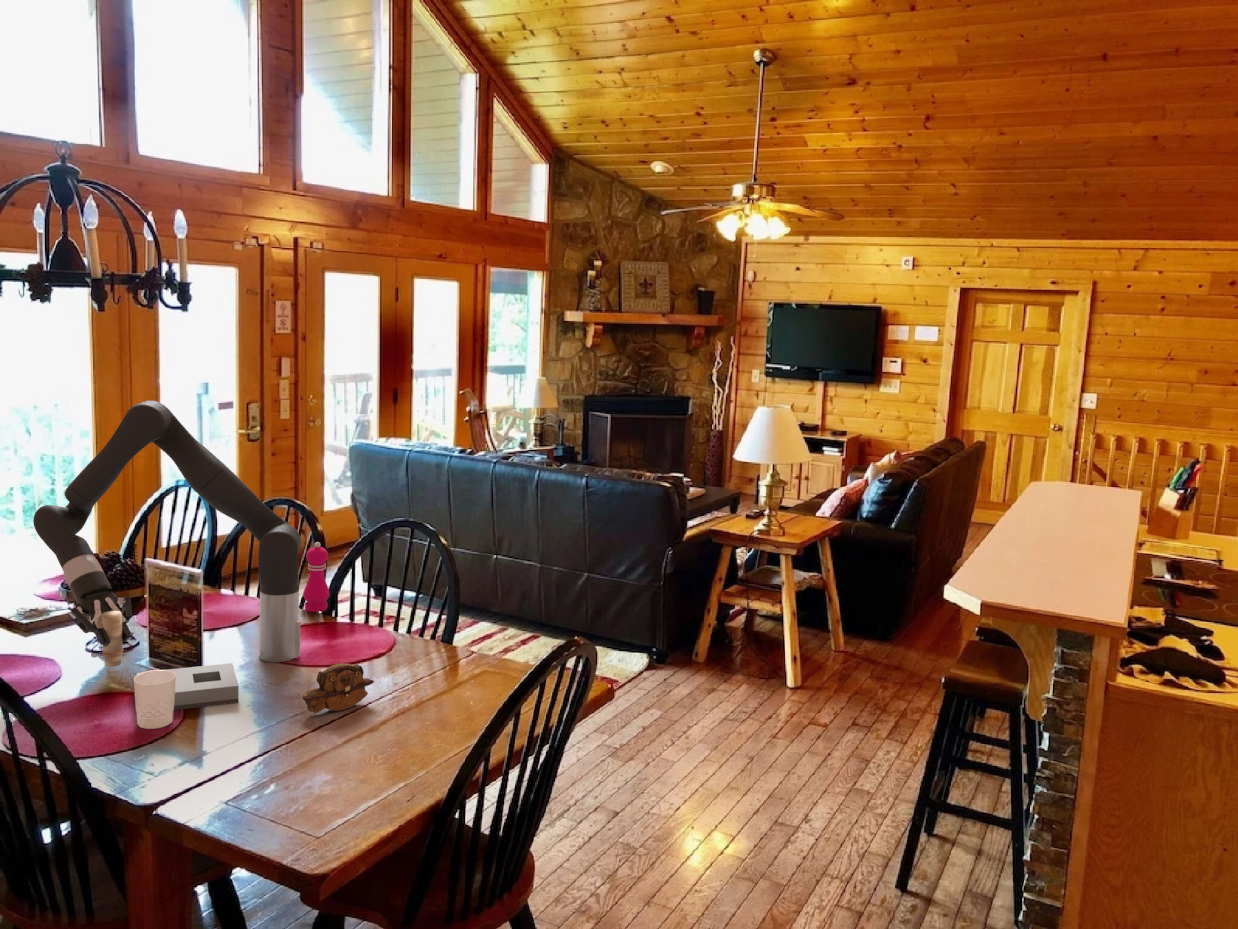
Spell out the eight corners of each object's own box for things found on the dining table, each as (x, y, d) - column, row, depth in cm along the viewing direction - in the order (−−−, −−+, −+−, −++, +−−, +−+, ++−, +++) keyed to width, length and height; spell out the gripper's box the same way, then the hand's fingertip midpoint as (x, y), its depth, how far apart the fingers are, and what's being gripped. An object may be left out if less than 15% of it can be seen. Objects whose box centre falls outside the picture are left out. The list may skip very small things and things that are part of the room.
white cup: (184, 719, 203) (184, 674, 201) (155, 733, 196) (155, 687, 194) (155, 711, 205) (154, 667, 204) (125, 725, 198) (124, 679, 196)
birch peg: (123, 659, 221) (122, 610, 219) (123, 666, 217) (122, 615, 215) (102, 662, 219) (101, 611, 217) (102, 668, 215) (100, 617, 213)
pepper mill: (333, 606, 282) (334, 540, 278) (323, 613, 274) (324, 546, 271) (309, 604, 282) (310, 538, 279) (298, 611, 275) (299, 543, 272)
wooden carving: (312, 723, 205) (313, 678, 204) (300, 716, 208) (301, 672, 207) (376, 702, 218) (377, 660, 216) (364, 696, 221) (365, 655, 219)
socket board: (232, 679, 225) (232, 663, 224) (238, 702, 213) (238, 685, 212) (136, 689, 216) (136, 672, 215) (137, 714, 203) (137, 696, 203)
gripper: (60, 576, 213) (91, 641, 208) (122, 564, 225) (153, 625, 220) (48, 594, 216) (79, 658, 212) (111, 581, 228) (141, 642, 224)
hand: (117, 641), depth 216 cm, fingers closed on birch peg, 4 cm apart
